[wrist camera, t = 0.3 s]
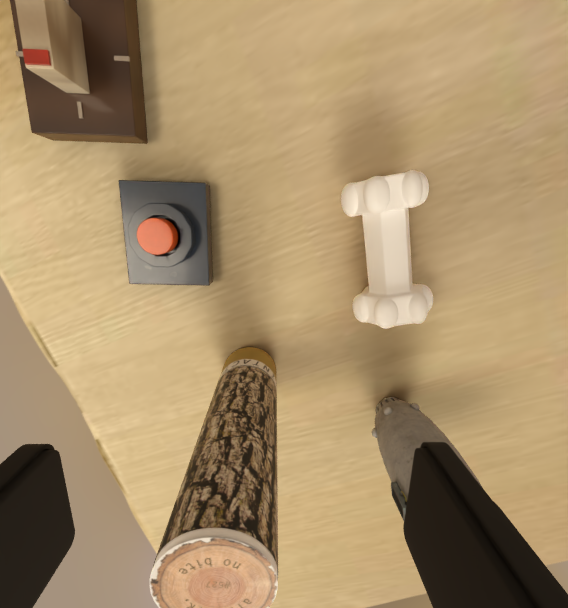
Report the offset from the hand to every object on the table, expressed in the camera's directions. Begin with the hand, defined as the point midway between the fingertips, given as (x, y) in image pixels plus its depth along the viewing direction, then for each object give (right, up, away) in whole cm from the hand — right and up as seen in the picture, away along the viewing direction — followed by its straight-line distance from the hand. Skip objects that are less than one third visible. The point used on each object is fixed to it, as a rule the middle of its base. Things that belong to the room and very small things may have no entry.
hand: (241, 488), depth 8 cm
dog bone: (+12, +12, +29) cm, 33 cm away
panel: (-18, +29, +23) cm, 41 cm away
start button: (-12, +12, +24) cm, 29 cm away
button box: (-12, +13, +28) cm, 33 cm away
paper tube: (-3, -4, +33) cm, 33 cm away
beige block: (-18, +28, +20) cm, 39 cm away
